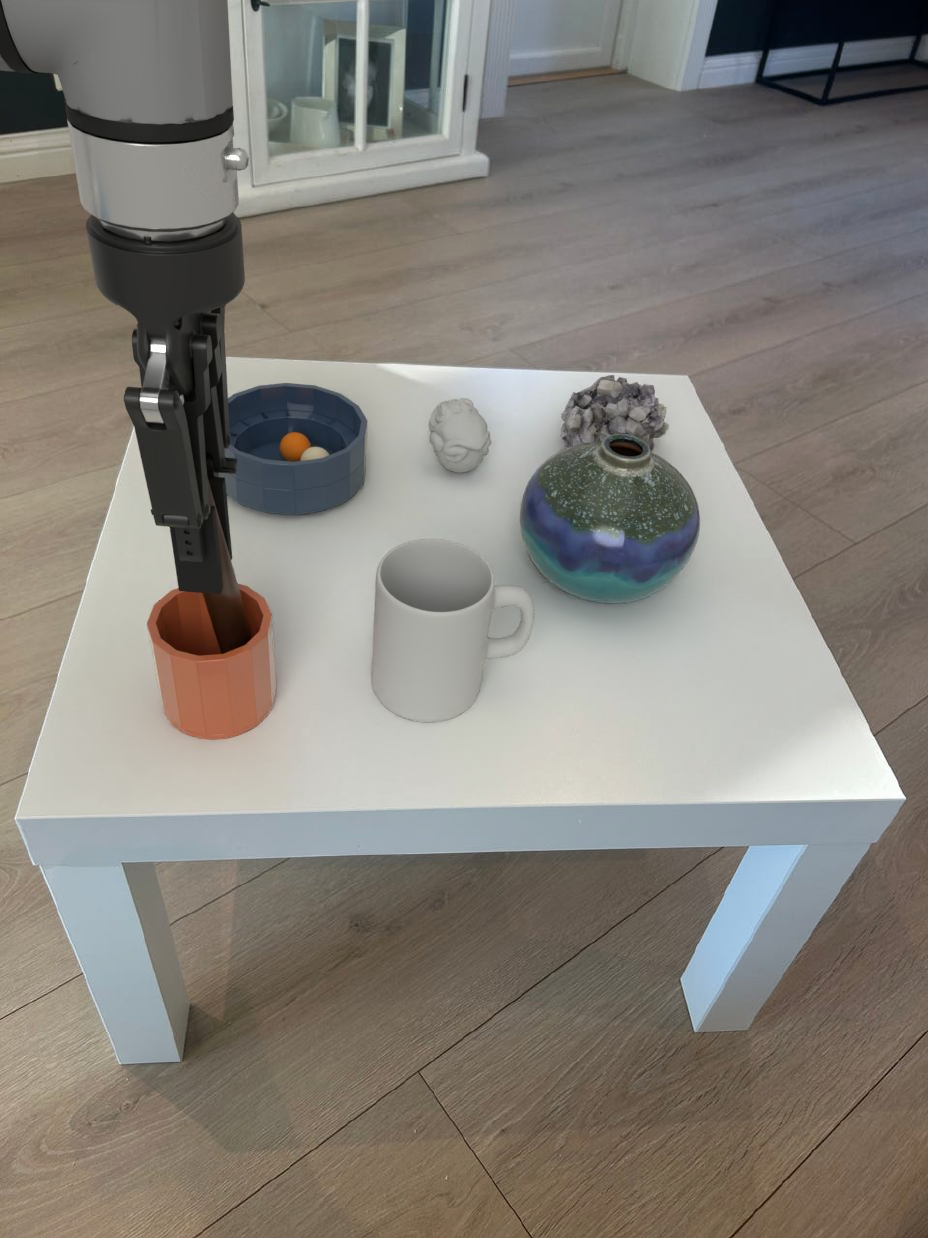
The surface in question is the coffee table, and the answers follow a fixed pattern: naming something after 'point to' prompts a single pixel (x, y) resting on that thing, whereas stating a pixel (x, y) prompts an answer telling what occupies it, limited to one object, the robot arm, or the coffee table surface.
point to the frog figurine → (458, 435)
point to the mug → (438, 628)
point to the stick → (227, 601)
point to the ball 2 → (314, 453)
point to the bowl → (297, 484)
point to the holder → (211, 666)
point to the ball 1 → (294, 446)
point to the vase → (609, 520)
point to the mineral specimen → (613, 412)
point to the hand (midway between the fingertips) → (206, 573)
